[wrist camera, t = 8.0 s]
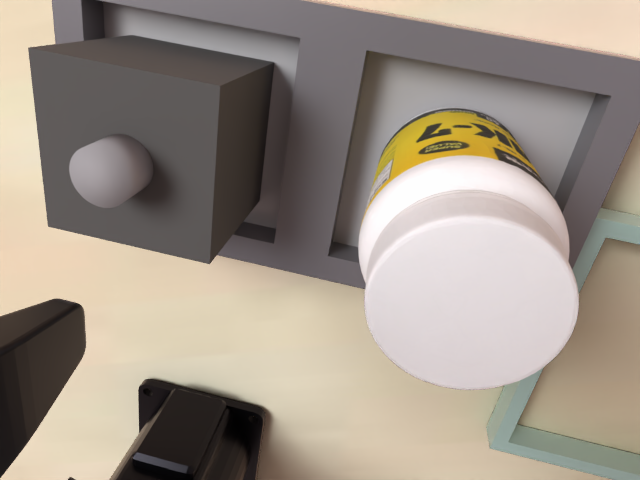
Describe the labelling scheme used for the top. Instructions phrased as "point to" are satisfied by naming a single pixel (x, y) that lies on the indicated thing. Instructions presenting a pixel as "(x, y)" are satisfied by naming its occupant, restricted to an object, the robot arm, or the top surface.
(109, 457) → the top surface
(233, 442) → the robot arm
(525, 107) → the grey socket tray
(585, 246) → the green square frame
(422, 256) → the supplement bottle
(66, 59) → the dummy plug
